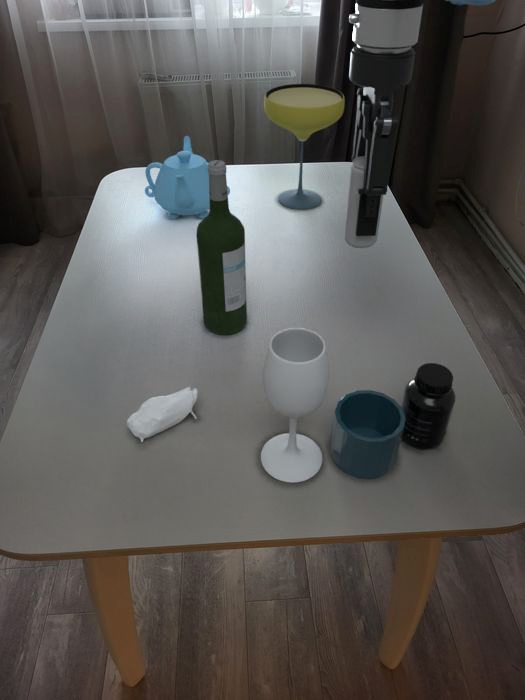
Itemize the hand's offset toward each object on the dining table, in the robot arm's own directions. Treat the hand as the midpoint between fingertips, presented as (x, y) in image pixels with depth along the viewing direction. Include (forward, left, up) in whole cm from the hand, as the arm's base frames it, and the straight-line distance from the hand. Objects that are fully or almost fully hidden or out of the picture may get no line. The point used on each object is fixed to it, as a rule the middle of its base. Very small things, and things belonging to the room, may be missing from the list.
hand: (362, 225), depth 81 cm
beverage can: (0, 0, -3) cm, 3 cm away
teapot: (+60, -17, -24) cm, 67 cm away
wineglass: (-8, +24, -24) cm, 35 cm away
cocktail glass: (+43, -39, -24) cm, 63 cm away
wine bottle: (+21, +9, -24) cm, 33 cm away
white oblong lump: (+10, +33, -24) cm, 42 cm away
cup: (-15, +17, -24) cm, 33 cm away
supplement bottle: (-19, +8, -24) cm, 32 cm away
